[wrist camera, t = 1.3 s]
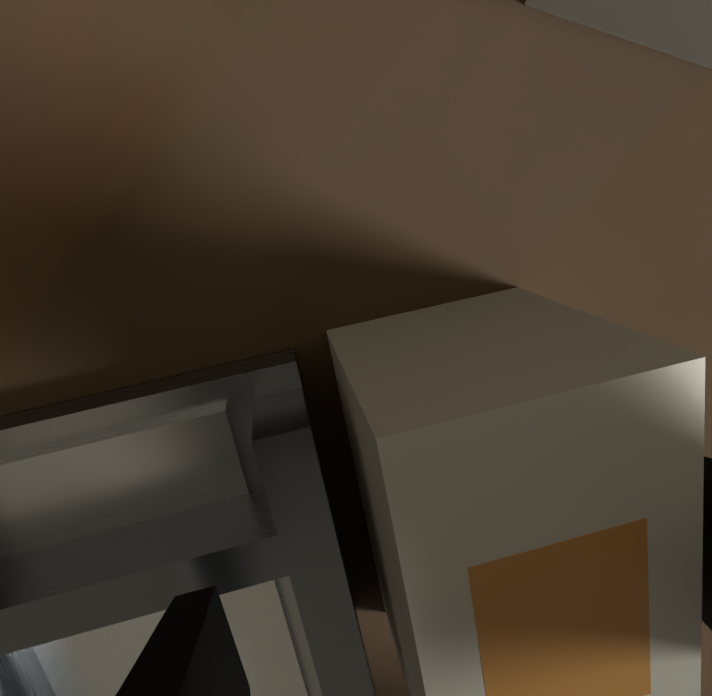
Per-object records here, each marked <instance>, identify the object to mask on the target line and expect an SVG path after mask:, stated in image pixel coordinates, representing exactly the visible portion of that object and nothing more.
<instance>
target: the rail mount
mask: <svg viewBox="0 0 712 696" xmlns="http://www.w3.org/2000/svg"><path fill="white" fill-rule="evenodd" d="M214 585H216V587H217V590H218V593H219V596H220V599H221V602H222V605H223V608H224V611H225V614H226V617H227V620H228V623H229V626H230V629H231V632H232V635H233V638H234V641H235V644H236V647H237V650H238V653H239V656H240V659H241V662H242V665H243V668H244V671H245V674H246V677H247V680H248V683H249V686H250V695H251V696H376V693H375V689H374V685H373V681H372V676H371V672H370V668H369V664H368V660H367V655H366V651H365V647H364V643H363V639H362V635H361V630H360V626H359V622H358V618H357V614H356V609H355V605H354V601H353V597H352V593H351V588H350V584H349V580H348V576H347V572H346V567H345V563H344V559H343V555H342V551H341V547H340V542H339V538H338V534H337V530H336V526H335V521H334V517H333V513H332V509H331V505H330V500H329V496H328V492H327V488H326V484H325V479H324V475H323V471H322V467H321V463H320V459H319V454H318V450H317V446H316V442H315V438H314V433H313V429H312V425H311V421H310V417H309V412H308V408H307V404H306V400H305V396H304V392H303V387H302V383H301V379H300V375H299V371H298V366H297V362H296V358H295V354H294V350H293V349H290V350H286V351H282V352H277V353H273V354H269V355H265V356H260V357H256V358H252V359H247V360H243V361H239V362H235V363H230V364H226V365H222V366H217V367H213V368H209V369H204V370H200V371H196V372H192V373H187V374H183V375H179V376H174V377H170V378H166V379H161V380H157V381H153V382H149V383H144V384H140V385H136V386H131V387H127V388H123V389H118V390H114V391H110V392H106V393H101V394H97V395H93V396H88V397H84V398H80V399H76V400H71V401H67V402H63V403H58V404H54V405H50V406H45V407H41V408H37V409H33V410H28V411H24V412H20V413H15V414H11V415H7V416H2V417H0V696H115V695H116V694H117V692H118V690H119V689H120V687H121V685H122V684H123V682H124V680H125V679H126V677H127V675H128V674H129V672H130V670H131V669H132V667H133V665H134V664H135V662H136V660H137V659H138V657H139V655H140V654H141V652H142V650H143V648H144V647H145V645H146V643H147V642H148V640H149V638H150V636H151V635H152V633H153V631H154V630H155V628H156V626H157V624H158V623H159V621H160V619H161V618H162V616H163V614H164V613H165V611H166V609H167V608H168V606H169V605H170V603H171V601H172V600H173V598H174V597H175V596H178V595H182V594H185V593H189V592H192V591H196V590H200V589H203V588H207V587H211V586H214Z"/></svg>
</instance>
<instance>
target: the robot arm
mask: <svg viewBox="0 0 712 696" xmlns="http://www.w3.org/2000/svg"><path fill="white" fill-rule="evenodd" d="M702 621H703V622H704V623H705V624H706V625H707V626H708V627H709V628H710V629H711V630H712V458H708V457H704V484H703V555H702ZM115 696H251V695H250V686H249V683H248V680H247V677H246V674H245V671H244V668H243V665H242V662H241V659H240V656H239V653H238V650H237V647H236V644H235V641H234V638H233V635H232V632H231V629H230V626H229V623H228V620H227V617H226V614H225V611H224V608H223V605H222V602H221V599H220V596H219V593H218V590H217V587H216V585H214V586H211V587H207V588H203V589H200V590H196V591H192V592H189V593H185V594H182V595H178V596H175V597H174V598H173V600H172V601H171V603H170V605H169V606H168V608H167V609H166V611H165V613H164V614H163V616H162V618H161V619H160V621H159V623H158V624H157V626H156V628H155V630H154V631H153V633H152V635H151V636H150V638H149V640H148V642H147V643H146V645H145V647H144V648H143V650H142V652H141V654H140V655H139V657H138V659H137V660H136V662H135V664H134V665H133V667H132V669H131V670H130V672H129V674H128V675H127V677H126V679H125V680H124V682H123V684H122V685H121V687H120V689H119V690H118V692H117V694H116V695H115Z"/></svg>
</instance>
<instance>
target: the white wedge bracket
mask: <svg viewBox="0 0 712 696" xmlns="http://www.w3.org/2000/svg"><path fill="white" fill-rule="evenodd" d="M525 5H526V6H529V7H532V8H534V9H537V10H540V11H543V12H546V13H549V14H552V15H555V16H558V17H561V18H564V19H567V20H570V21H572V22H575V23H578V24H581V25H584V26H587V27H590V28H593V29H596V30H599V31H602V32H605V33H608V34H611V35H613V36H616V37H619V38H622V39H625V40H628V41H631V42H634V43H637V44H640V45H643V46H646V47H649V48H651V49H654V50H657V51H660V52H663V53H666V54H669V55H672V56H675V57H678V58H681V59H684V60H687V61H689V62H692V63H695V64H698V65H701V66H704V67H707V68H710V69H712V0H526V1H525Z"/></svg>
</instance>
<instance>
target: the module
mask: <svg viewBox="0 0 712 696" xmlns="http://www.w3.org/2000/svg"><path fill="white" fill-rule="evenodd" d="M326 333H327V337H328V342H329V347H330V352H331V356H332V361H333V366H334V371H335V375H336V380H337V385H338V390H339V394H340V399H341V404H342V408H343V413H344V418H345V423H346V427H347V432H348V437H349V442H350V446H351V451H352V456H353V461H354V465H355V470H356V475H357V480H358V484H359V489H360V494H361V498H362V503H363V508H364V513H365V517H366V522H367V527H368V532H369V536H370V541H371V546H372V551H373V555H374V560H375V565H376V570H377V574H378V579H379V584H380V589H381V593H382V598H383V603H384V607H385V612H386V616H387V619H388V622H389V626H390V629H391V633H392V636H393V639H394V643H395V646H396V650H397V653H398V656H399V660H400V663H401V667H402V670H403V674H404V677H405V680H406V684H407V687H408V691H409V694H410V696H701V626H702V555H703V484H704V413H705V357H704V356H701V355H699V354H696V353H693V352H691V351H688V350H685V349H683V348H680V347H677V346H675V345H672V344H669V343H667V342H664V341H661V340H658V339H656V338H653V337H650V336H648V335H645V334H642V333H640V332H637V331H634V330H632V329H629V328H626V327H624V326H621V325H618V324H615V323H613V322H610V321H607V320H605V319H602V318H599V317H597V316H594V315H591V314H589V313H586V312H583V311H580V310H578V309H575V308H572V307H570V306H567V305H564V304H562V303H559V302H556V301H554V300H551V299H548V298H546V297H543V296H540V295H537V294H535V293H532V292H529V291H527V290H524V289H521V288H519V287H516V288H512V289H507V290H503V291H498V292H494V293H490V294H485V295H481V296H476V297H472V298H467V299H463V300H458V301H454V302H450V303H445V304H441V305H436V306H432V307H427V308H423V309H419V310H414V311H410V312H405V313H401V314H396V315H392V316H387V317H383V318H379V319H374V320H370V321H365V322H361V323H356V324H352V325H348V326H343V327H339V328H334V329H330V330H326Z"/></svg>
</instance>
